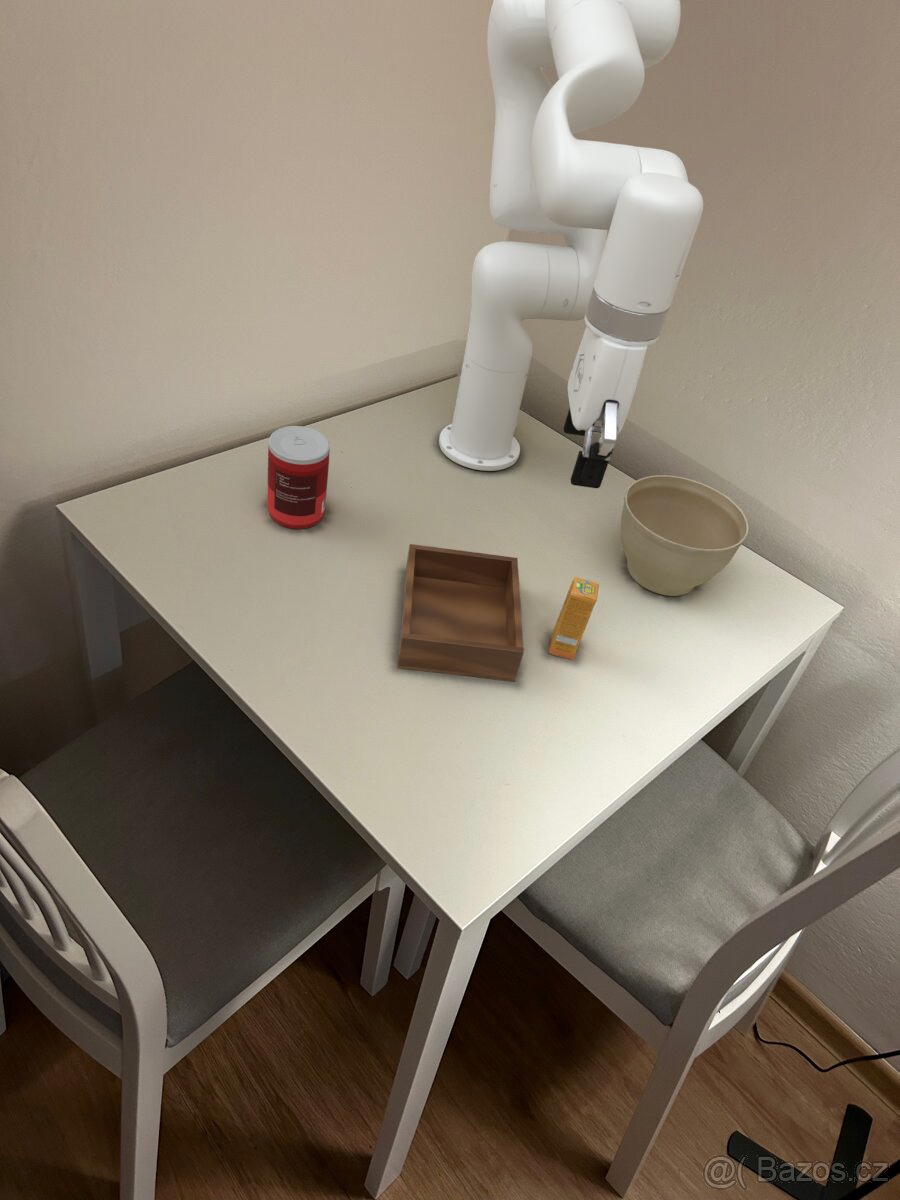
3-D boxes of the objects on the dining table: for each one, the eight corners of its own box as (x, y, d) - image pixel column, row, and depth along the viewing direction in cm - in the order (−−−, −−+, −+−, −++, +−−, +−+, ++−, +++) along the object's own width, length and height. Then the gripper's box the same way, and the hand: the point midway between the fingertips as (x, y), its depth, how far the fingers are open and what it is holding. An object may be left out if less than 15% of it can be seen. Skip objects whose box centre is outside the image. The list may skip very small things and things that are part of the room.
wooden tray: (404, 573, 114) (409, 543, 111) (509, 586, 115) (517, 557, 112) (397, 667, 102) (402, 637, 98) (514, 681, 103) (523, 652, 100)
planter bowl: (743, 599, 121) (774, 536, 114) (649, 626, 114) (677, 560, 107) (670, 528, 131) (695, 466, 123) (580, 548, 124) (601, 484, 116)
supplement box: (575, 661, 107) (597, 600, 100) (547, 654, 107) (567, 592, 100) (578, 643, 109) (600, 582, 103) (550, 636, 110) (570, 574, 103)
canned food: (305, 488, 124) (309, 420, 117) (336, 521, 120) (342, 451, 113) (255, 503, 120) (256, 432, 113) (285, 536, 116) (288, 466, 108)
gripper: (580, 269, 93) (542, 411, 104) (597, 351, 80) (552, 502, 92) (650, 280, 93) (605, 420, 105) (678, 364, 81) (623, 512, 93)
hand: (580, 458), depth 98 cm, fingers open, 9 cm apart
